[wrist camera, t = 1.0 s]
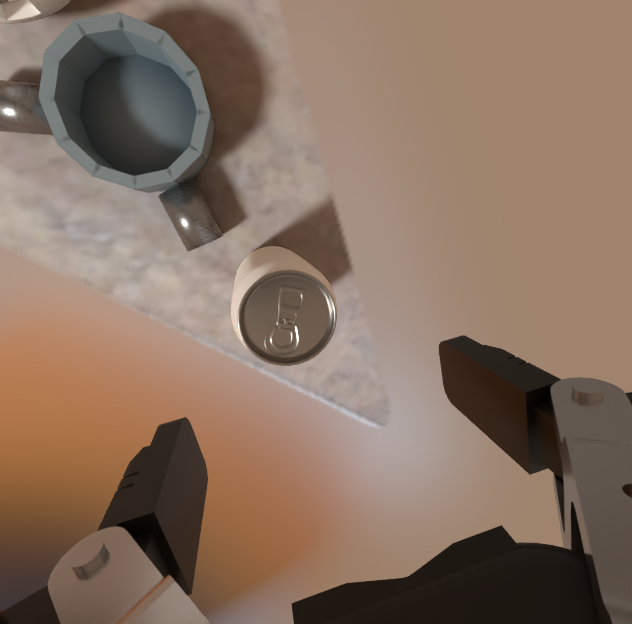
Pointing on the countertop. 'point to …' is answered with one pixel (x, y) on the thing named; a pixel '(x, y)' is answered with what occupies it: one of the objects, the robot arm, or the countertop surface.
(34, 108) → the shaft
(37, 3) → the mechanical part
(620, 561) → the robot arm
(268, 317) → the can
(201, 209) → the shaft
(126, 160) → the collar
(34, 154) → the countertop surface
